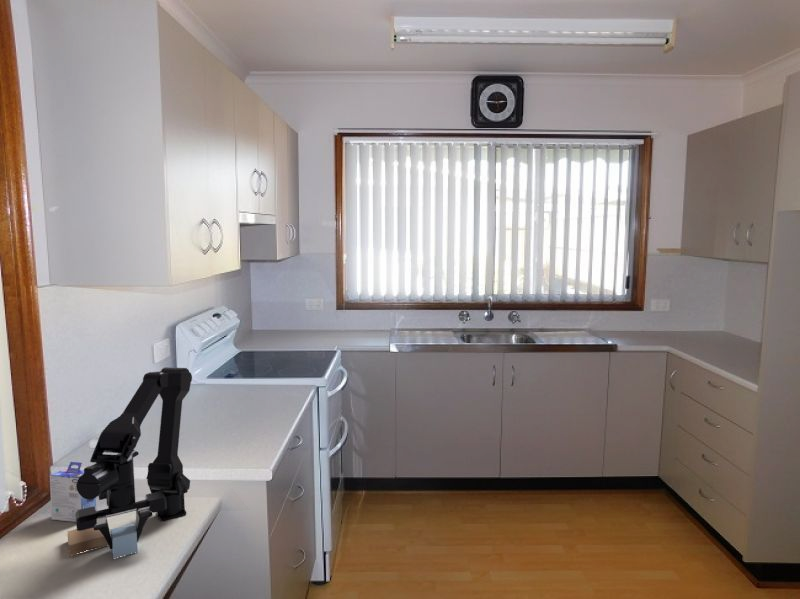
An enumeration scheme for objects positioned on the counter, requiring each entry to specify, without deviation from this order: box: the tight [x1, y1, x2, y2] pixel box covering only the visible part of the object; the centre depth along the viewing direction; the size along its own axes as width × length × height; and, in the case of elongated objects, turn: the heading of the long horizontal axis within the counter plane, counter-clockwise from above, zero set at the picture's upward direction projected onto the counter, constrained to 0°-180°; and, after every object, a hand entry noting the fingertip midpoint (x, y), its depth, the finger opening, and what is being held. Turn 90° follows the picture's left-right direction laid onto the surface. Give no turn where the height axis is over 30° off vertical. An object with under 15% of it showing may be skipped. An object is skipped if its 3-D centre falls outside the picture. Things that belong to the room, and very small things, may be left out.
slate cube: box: [109, 523, 139, 559], centre depth 129 cm, size 5×5×5 cm
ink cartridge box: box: [49, 461, 97, 523], centre depth 146 cm, size 10×6×14 cm, turn 78°
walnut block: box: [67, 528, 109, 557], centre depth 133 cm, size 8×8×3 cm
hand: (124, 544), depth 129 cm, fingers closed on slate cube, 5 cm apart
